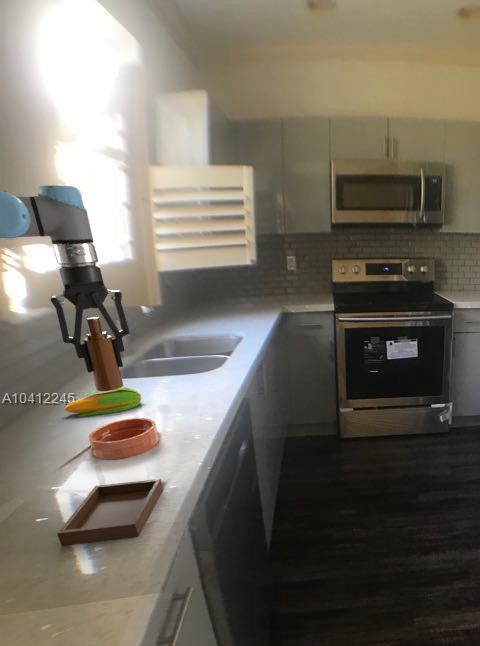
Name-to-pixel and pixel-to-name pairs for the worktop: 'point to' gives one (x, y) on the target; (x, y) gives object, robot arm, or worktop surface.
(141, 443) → the bowl
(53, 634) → the worktop surface
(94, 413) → the corn
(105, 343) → the bottle
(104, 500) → the tray
